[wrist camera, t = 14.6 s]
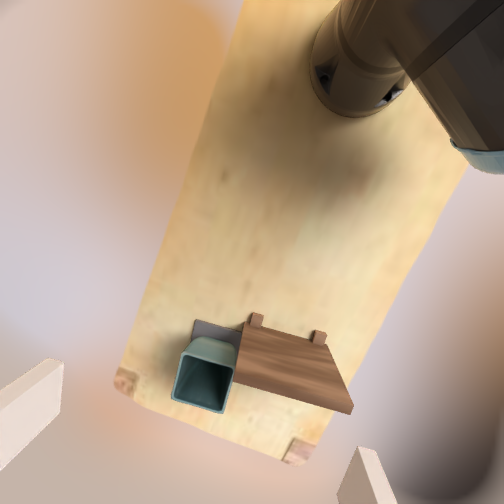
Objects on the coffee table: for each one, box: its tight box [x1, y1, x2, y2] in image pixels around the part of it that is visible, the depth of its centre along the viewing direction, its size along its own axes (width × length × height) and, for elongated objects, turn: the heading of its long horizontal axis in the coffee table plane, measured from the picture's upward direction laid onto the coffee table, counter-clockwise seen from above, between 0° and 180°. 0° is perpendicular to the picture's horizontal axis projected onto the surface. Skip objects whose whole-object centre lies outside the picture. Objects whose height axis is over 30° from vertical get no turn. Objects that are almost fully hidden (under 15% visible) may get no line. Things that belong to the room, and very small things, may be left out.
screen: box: [232, 312, 354, 415], centre depth 38 cm, size 6×16×14 cm, turn 75°
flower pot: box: [171, 336, 237, 414], centre depth 41 cm, size 9×9×9 cm
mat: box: [190, 319, 242, 356], centre depth 46 cm, size 10×10×1 cm
